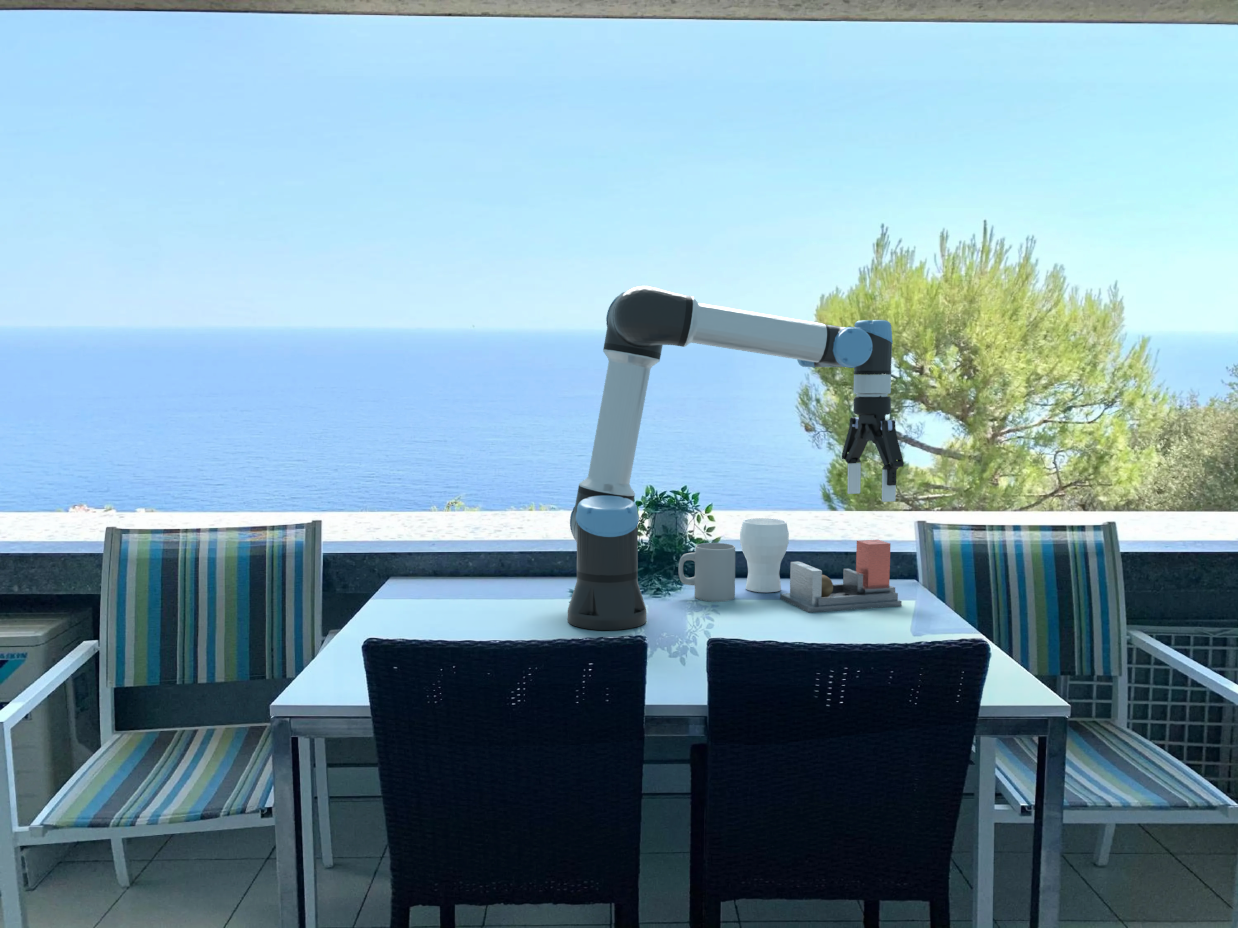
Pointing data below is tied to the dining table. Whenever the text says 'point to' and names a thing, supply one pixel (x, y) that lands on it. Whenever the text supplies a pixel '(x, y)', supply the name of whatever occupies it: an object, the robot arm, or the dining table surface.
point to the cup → (764, 552)
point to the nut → (826, 586)
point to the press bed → (809, 595)
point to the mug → (711, 571)
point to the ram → (869, 569)
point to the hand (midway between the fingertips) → (870, 497)
